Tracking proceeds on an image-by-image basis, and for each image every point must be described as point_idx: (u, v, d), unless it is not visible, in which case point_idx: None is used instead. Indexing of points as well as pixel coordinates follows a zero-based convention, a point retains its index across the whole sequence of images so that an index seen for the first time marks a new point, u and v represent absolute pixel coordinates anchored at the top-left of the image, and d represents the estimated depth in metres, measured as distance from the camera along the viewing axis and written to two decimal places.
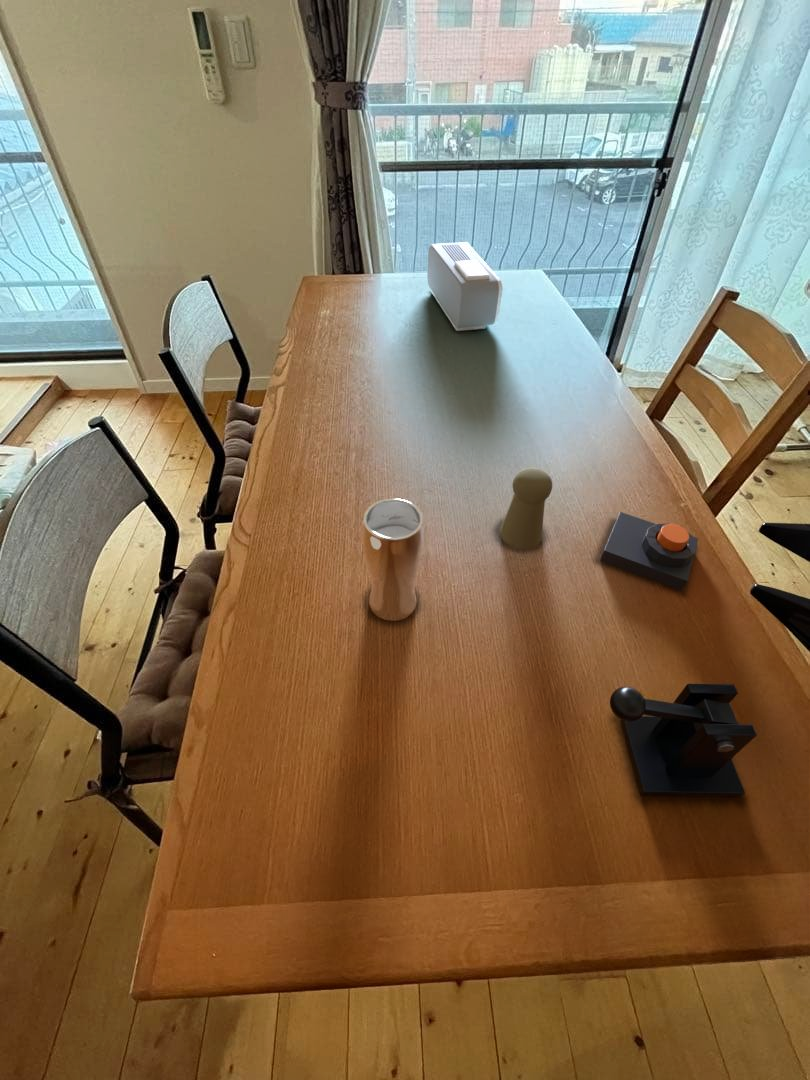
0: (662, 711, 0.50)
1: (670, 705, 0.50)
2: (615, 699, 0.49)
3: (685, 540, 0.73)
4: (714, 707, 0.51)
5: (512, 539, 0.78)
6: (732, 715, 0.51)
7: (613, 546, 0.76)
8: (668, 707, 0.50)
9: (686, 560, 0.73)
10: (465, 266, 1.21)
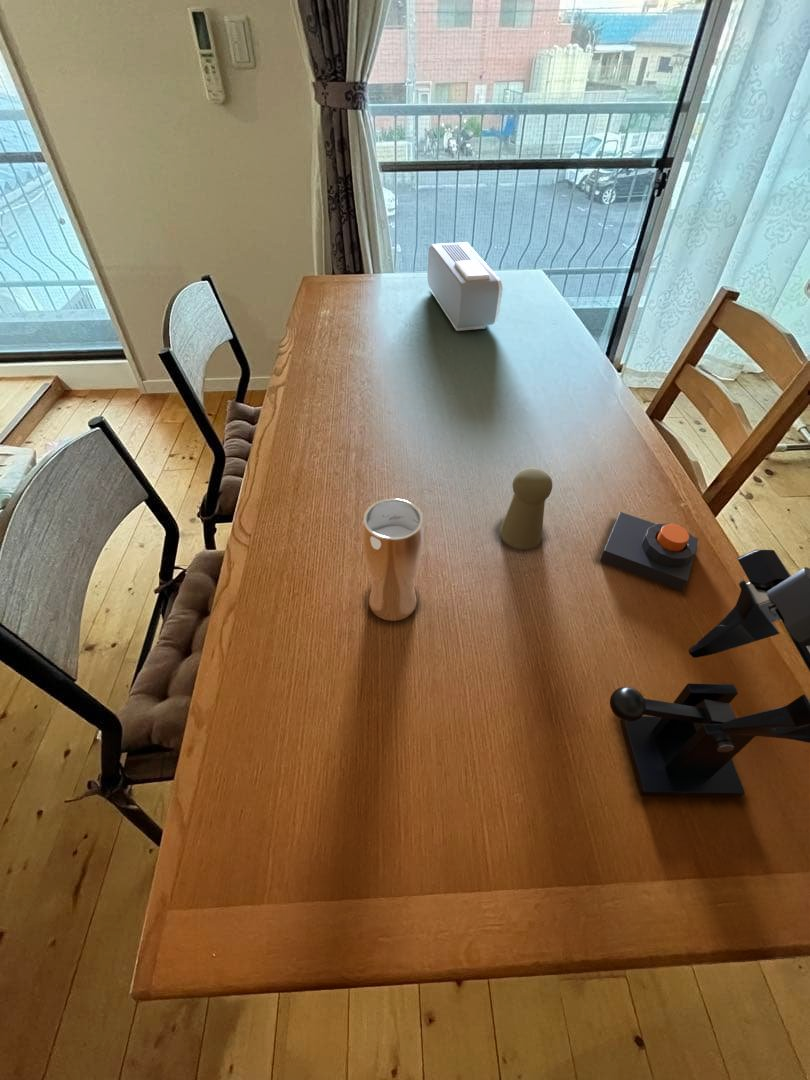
0: (662, 711, 0.50)
1: (670, 705, 0.50)
2: (615, 699, 0.49)
3: (685, 540, 0.73)
4: (714, 707, 0.51)
5: (512, 539, 0.78)
6: (732, 715, 0.51)
7: (613, 546, 0.76)
8: (668, 707, 0.50)
9: (686, 560, 0.73)
10: (465, 266, 1.21)
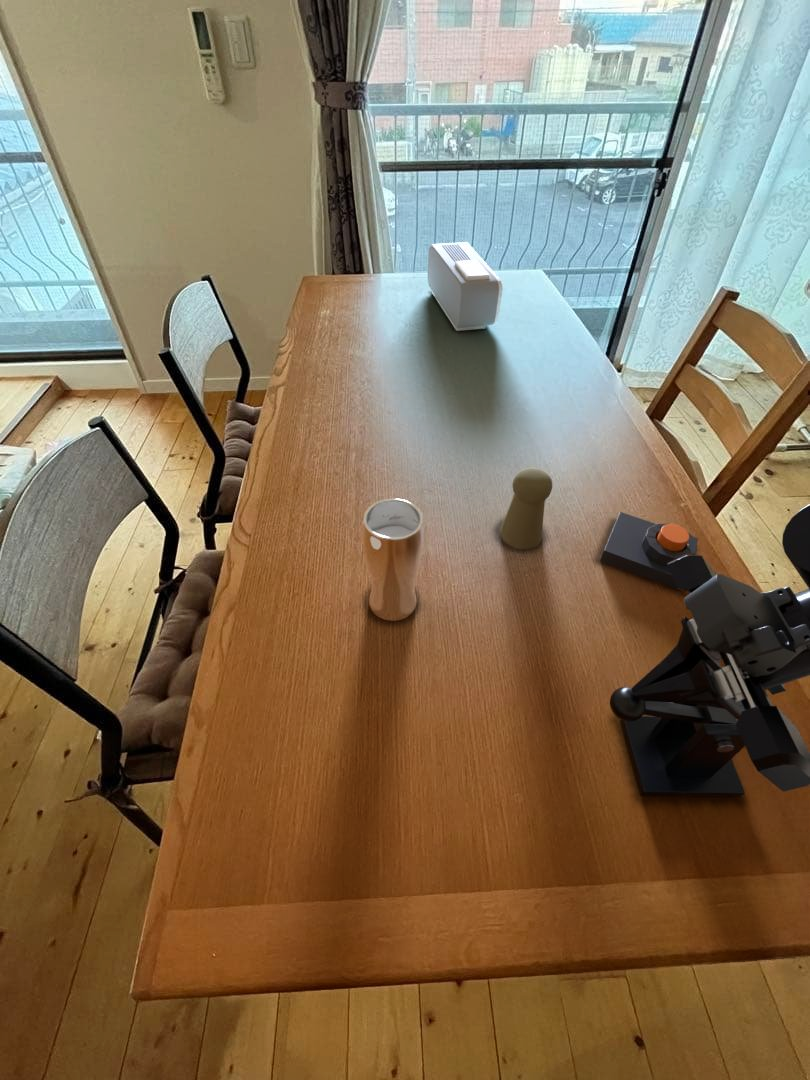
0: (662, 711, 0.50)
1: (670, 705, 0.50)
2: (615, 699, 0.49)
3: (685, 540, 0.73)
4: (714, 707, 0.51)
5: (512, 539, 0.78)
6: (732, 715, 0.51)
7: (613, 546, 0.76)
8: (668, 707, 0.50)
9: None
10: (465, 266, 1.21)
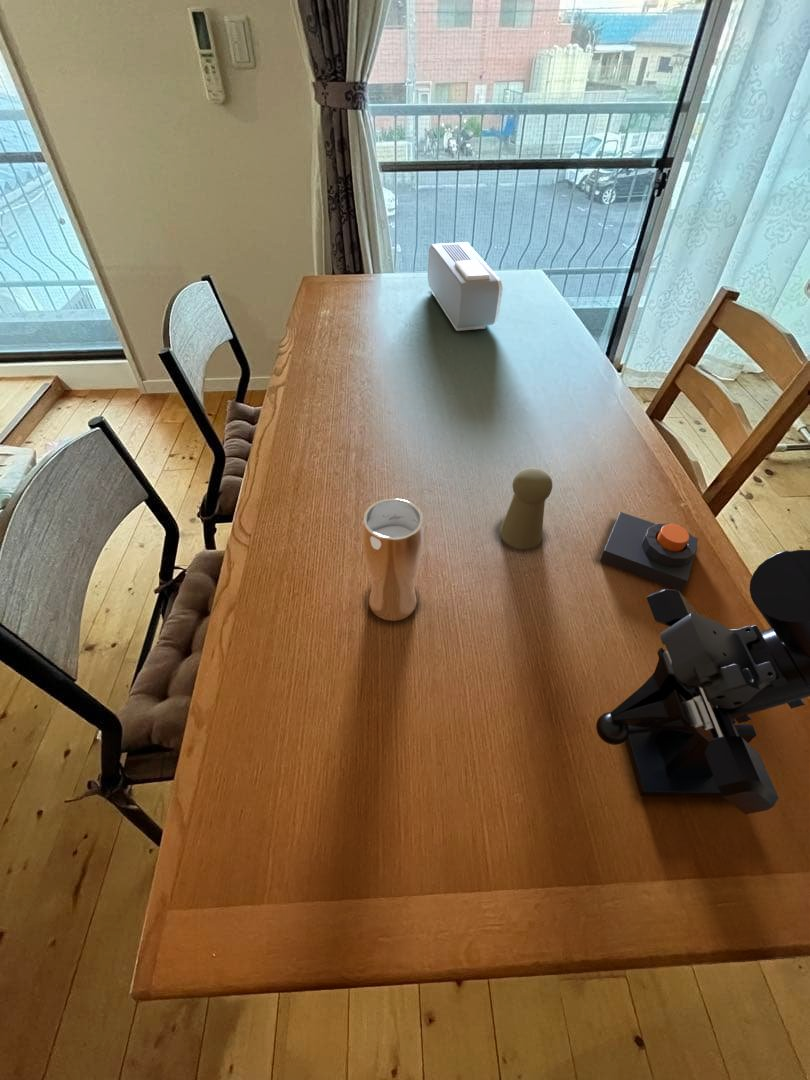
0: (647, 727, 0.52)
1: None
2: (597, 727, 0.53)
3: (685, 540, 0.73)
4: None
5: (512, 539, 0.78)
6: None
7: (613, 546, 0.76)
8: None
9: (686, 560, 0.73)
10: (465, 266, 1.21)
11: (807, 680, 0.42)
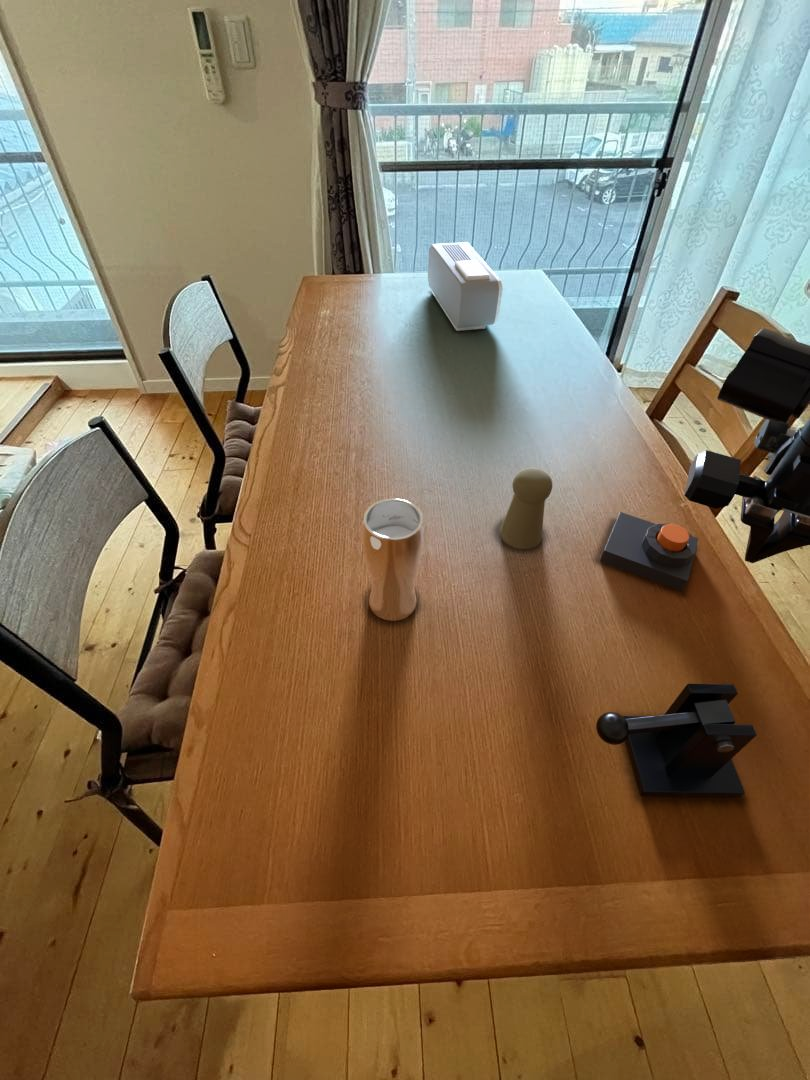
0: (647, 727, 0.52)
1: (657, 718, 0.52)
2: (597, 727, 0.53)
3: (685, 540, 0.73)
4: (706, 709, 0.51)
5: (512, 539, 0.78)
6: (728, 712, 0.50)
7: (613, 546, 0.76)
8: (655, 720, 0.52)
9: (686, 560, 0.73)
10: (465, 266, 1.21)
11: None
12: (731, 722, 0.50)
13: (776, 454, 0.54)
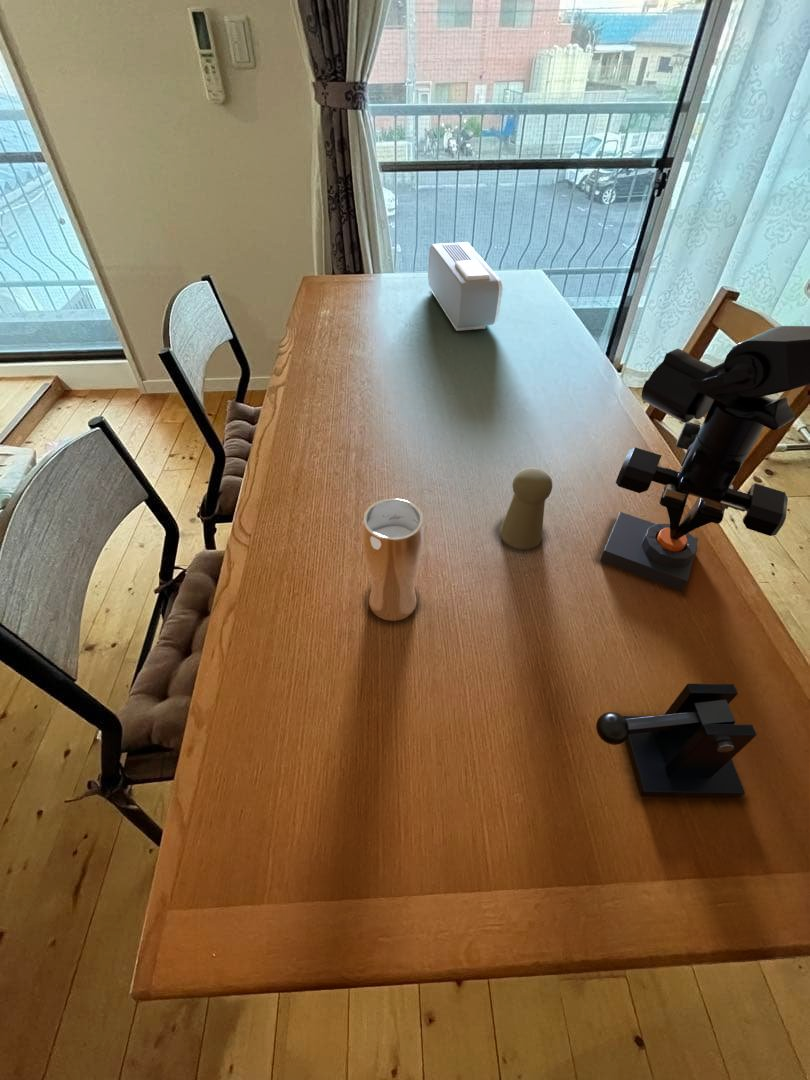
0: (647, 727, 0.52)
1: (657, 718, 0.52)
2: (597, 727, 0.53)
3: (683, 543, 0.73)
4: (706, 709, 0.51)
5: (512, 539, 0.78)
6: (728, 712, 0.50)
7: (613, 546, 0.76)
8: (655, 720, 0.52)
9: (686, 560, 0.73)
10: (465, 266, 1.21)
11: (701, 440, 0.62)
12: (731, 722, 0.50)
13: (687, 450, 0.68)
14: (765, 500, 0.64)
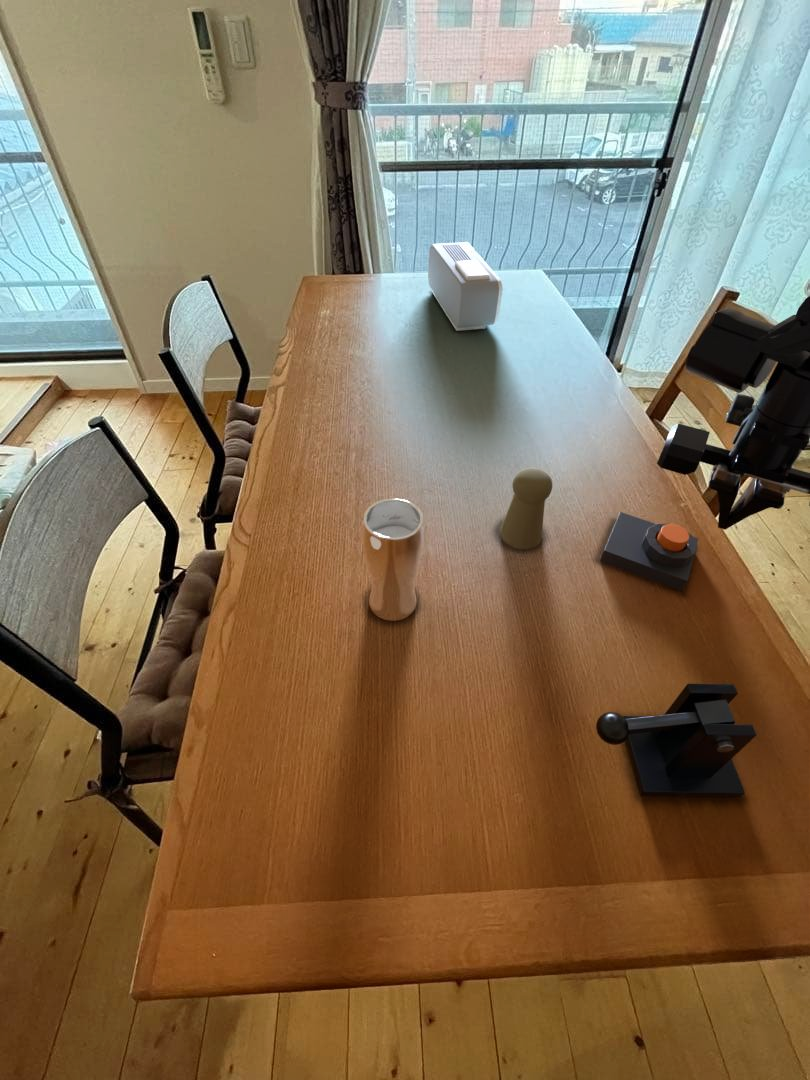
0: (647, 727, 0.52)
1: (657, 718, 0.52)
2: (597, 727, 0.53)
3: (685, 540, 0.73)
4: (706, 709, 0.51)
5: (512, 539, 0.78)
6: (728, 712, 0.50)
7: (613, 546, 0.76)
8: (655, 720, 0.52)
9: (686, 560, 0.73)
10: (465, 266, 1.21)
11: (763, 412, 0.53)
12: (731, 722, 0.50)
13: (741, 425, 0.59)
14: None
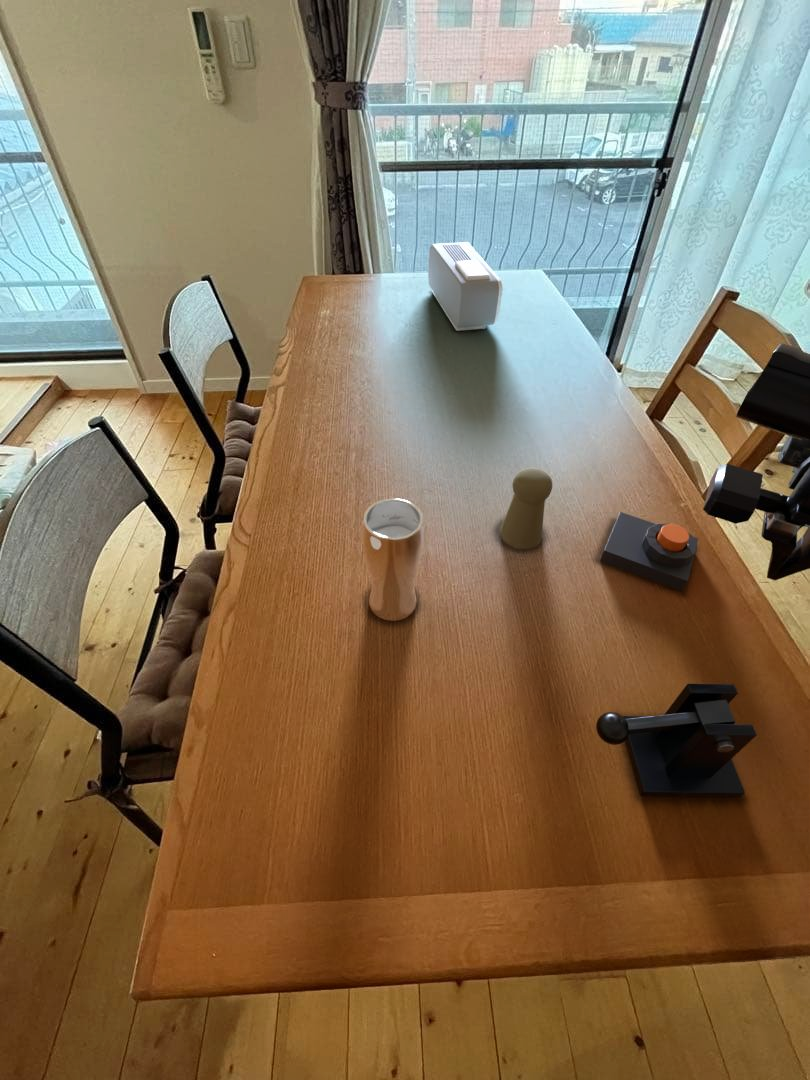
0: (647, 727, 0.52)
1: (657, 718, 0.52)
2: (597, 727, 0.53)
3: (685, 540, 0.73)
4: (706, 709, 0.51)
5: (512, 539, 0.78)
6: (728, 712, 0.50)
7: (613, 546, 0.76)
8: (655, 720, 0.52)
9: (686, 560, 0.73)
10: (465, 266, 1.21)
11: None
12: (731, 722, 0.50)
13: (799, 469, 0.53)
14: None
